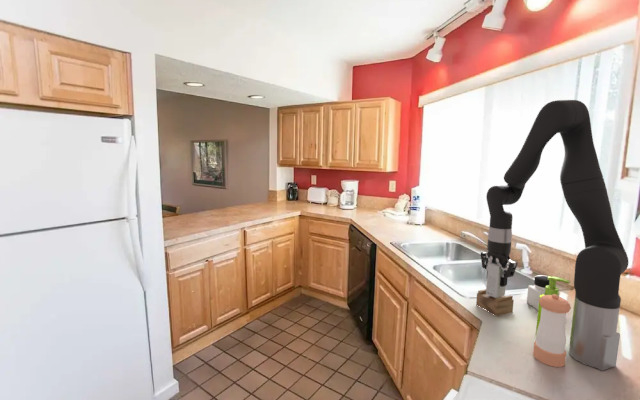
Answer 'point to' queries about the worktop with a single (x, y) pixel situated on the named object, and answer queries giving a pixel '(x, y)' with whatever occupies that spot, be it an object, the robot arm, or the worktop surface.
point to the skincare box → (494, 281)
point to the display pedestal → (495, 303)
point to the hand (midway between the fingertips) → (496, 283)
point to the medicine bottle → (537, 290)
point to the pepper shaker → (551, 331)
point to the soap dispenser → (550, 293)
